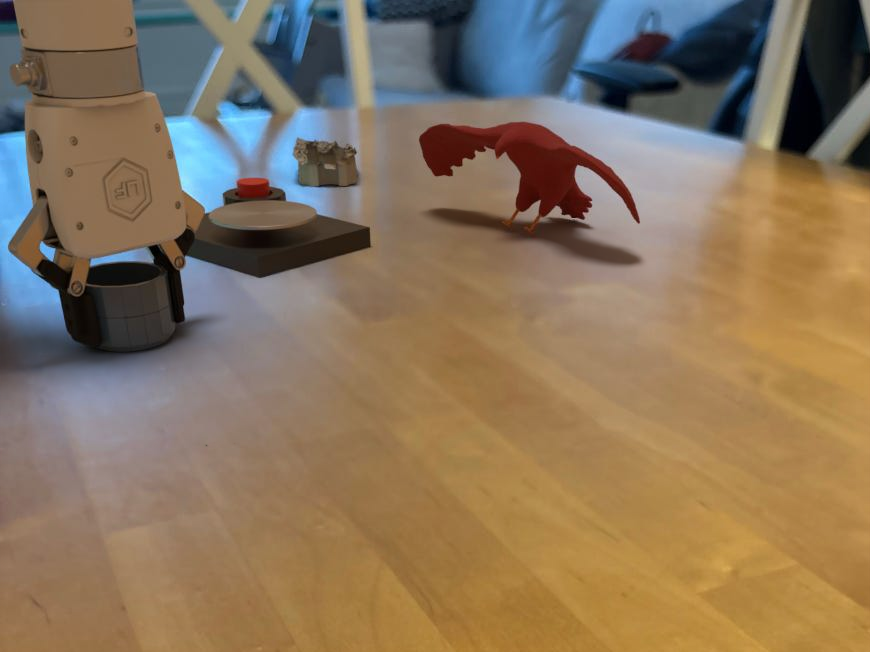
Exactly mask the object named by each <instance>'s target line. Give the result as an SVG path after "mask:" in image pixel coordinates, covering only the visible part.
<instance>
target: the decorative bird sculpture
mask: <svg viewBox="0 0 870 652" xmlns="http://www.w3.org/2000/svg"><path fill="white" fill-rule="evenodd" d="M418 141H419V147H420V150H421V153H422V158H423V159H424V161H425V164H426V166H427V167H428V169H429V170H430V171H431V173H432V175H433V176H434V177H437V178H438V177H444V176H445V177H454V170H453V169H452V167H455V168H456V167H457V168H461V167H463V165H464V164H463V163H464V162H463V161H464V159H468V160H470V161H473V160H474V159H475V158H476V156H477V155H476V152H478V153H485V152H486V151H487V149H490V150H493V151H494V154H495V155H494V156H495V159H496V160H499V159H500V158H501V157H502V156H503V154H506V156H507V157H508V159H509V160H510V161H511V162H512V163H513V165H514V166H515V167H516V169H517V170H518V172H519V175H520V178H519V185H518V192H517V195H516V197H515V211H514V212H513V213H512V215H511V217H510V219H509V220H508V222H507V221H505V220H501V221H499V223H500V222H501V223H503V224H504V225H505V226H507V227H508V228H509V229H510V230H512V227H511V225H512V223H513V221H514V220H515V218H516V217H517V215H518V214H519V212H520V213H524V212H526V211H527V210H529V209H530V208H531V207H532V206H533V205H534V204H536V203H538V202H539V201H540V202H539V205H538V214H537V216H536V217H535V219H534V221H533V222H532V224H531V225H530V227H528V226H522V228H524V229H525V230H526V231H528V232H529V233H531V234H530V235H531V237H533V236H534V234H533V230H534V229H535V227H536V225H537V224H538V222H539V220H540V219H541V218H545V217H547V216H549V214H550V213H551V212H552V211H553V210H554V209H555V208H556V207H558V208H559V209H560V211H561V213H560V214H561V215H562V216H569V217H570V218H571V219H572V218H577V219H579V220H582V221H584V220H586V216H585V215H584V214H587V213H589V212H590V210H589V209H592V208H593V203H592V202H593V198H592V197H591V196H589V195H588V194H585V193H584V192H583V191H582V189H581V188H580V187H579V185H578V182H577V181H576V169H577V167H578V166H580V167H583V168H586V169H589V170H590V171H592V172H593V173H594V174H596V175H597V176H598V177H600V178H601V179H602V180H603V181H604V182H605V183H606V184H607V185H608V186H609V187H610V188H611V189H612V191H614V192H615V193H616V194H617V195H618V197H620V198H621V200H622V201H623V203H624V204H625V207H626V208H627V210H628V211H629V212H630V215H631V217H632V219H633V220H634V221H635V222H636V223H637V224H638V225H640V224H641V221H640V216H639V212H638V209H637V206H636V202H635V201H634V197H633V195H632V192H631V191H630V189H629V188H628V187H627V186H626V183H625V182H624V181H623V179H621V178H620V176H618V174H616V172H615V170H613V169H612V167H611V166H608V165H607V164H606V163H605V162H603V161H602V160H601V159H599V158H597V157H595V156H593V155H592V154H590V153H588V152H587V151H585V150H584V149H582V148H580V147H578V146H575V145H571V144H570V143H568V142H567V141H566V140H565V139H563V138H562V137H561V136H560V135H558V134H556V133H554V131H552V130H550V129H549V128H548V127H546V126H544V125H542V124H539V123H534V122H528V121H509V122H507V123H502V124H498V125H496V126H491V127H485V128H483V127H474V126H470V125H464V124H463V125H452V124H450V123H439V124H435V125H432V126H430V127H428V128H427V129H426V130H425V131H423V133H422V134H420V135H419V138H418Z"/></svg>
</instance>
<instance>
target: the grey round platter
mask: <svg viewBox="0 0 870 652" xmlns="http://www.w3.org/2000/svg"><path fill="white" fill-rule="evenodd" d="M317 211H318V210H317V209H316V208H315V207H313V206H311V205H309V204H306V203H301V202H296V201H289V200H286V201H275V200H264V201H248V202H240V203H234V204H229V205H225V206H224V205H221V206H218V207H216V208H214V209H212V210H211V211H210V213H209V212H208V213H209V220H210V221H211V222H212V223H214V224H216V225H219V226H222V227H226V228H232V229H241V230H272V229H282V228H289V227H295V226H299V225H303V224H306V223H308V222H310V221H312V220H314V219H315V218H316V216H317V214H318V213H317Z"/></svg>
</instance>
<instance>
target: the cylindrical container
mask: <svg viewBox="0 0 870 652" xmlns="http://www.w3.org/2000/svg"><path fill="white" fill-rule="evenodd" d="M85 292H87V293H89V294H92V296H93V297H94V302H95V307H96V313H97V318H98V323H99V329H100V334H101V340H102V344H101V345H100V347H97V348H96V349H100V350H103V351H107V352H116V353H117V352H119V353H120V352H121V353H123V352H125V353H127V352H138V351H144V350H149V349H152V348H156V347H159V346H161V345H163V344H165V343H166V342H168V340H169V339H170V337H171V336H173V334H174V332H175V330H176V323H175V322H174V315H173V309H172V302H171V294H170V287H169V281H168V274H167V270H166V269H165V268H164V267H163V266H160V265H157V264H154V262H149V261H140V260H119V261H108V262H102V263H98V264H94V265H93V264H92V265H90V267H89V272H88V276H87V281H86V285H85Z"/></svg>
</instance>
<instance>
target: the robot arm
mask: <svg viewBox="0 0 870 652" xmlns="http://www.w3.org/2000/svg"><path fill="white" fill-rule="evenodd" d="M12 2H13V7H14V12H15V18H16V23H17V27H18V32H19V39H20V43H21V46H22V48H21V49H20V53H21V58H22V60H20V62H19V63H18V62H16V63H12V64H10V66H9V75H10V79H11V80H12V83H13V84H14V85H15V86H17V87H27V88H28V89H27V90H28V92H29V93H31V99H29V100H26V101H25V103H24V104H25V105H24V141H25V157H26V166H27V175H28V176H27V177H28V182H29V183H28V184H29V188H30V196H31V200H32V208H31V209H30V211H29V212H28V214H27V215H26V217H25V218H24V219H23V221H22V222H21V224H20V226H18V228H17V230H16V232H15V233H14V235H13V236H12V237H11V239H10V240H9V242H8V244H7V249H8V251H9V253H10V254H11V255H13V257H15V258H16V259H17V260H18V261H20V262H21V264H23V265H25V266H26V267H27V268H29V269H30V271H31V272H32V273H33V274H35V275H36V276H38V277H39V278H40V279H42V280H43V281H45V282H46V283H47V284H48V285H50V287H51V288H53V289H55V290H57V291H58V296H59V301H60V305H61V310H62V315H63V320H64V325H65V329H66V331H67V333H68V334H69V335H70V337H71V339H72V340H73V341H74V342H76V343H78V344H80V345H83V346H86V347H88V348H91V349H98V348H97V347H100V345H101V344H102V340H101V334H100V329H99V323H98V318H97V313H96V307H95V302H94V297H93V296H92V294H89V293H87V292H85V285H86V281H87V276H88V272H89V267H90V266H91V263H92V260H93V259H94V260H95V259H100V258H104V257H105V258H106V257H110V256H114V255H118V254H122V253H127V252H131V251H135V250H139V249H144V248H145V250H146V251H147V253H148V255H149V256H150V257H151V259H152V261H153V262H152V263H154V264H157V265H160V266H163V267H164V268H165V269H166V270H167V274H168V281H169V287H170V294H171V302H172V309H173V315H174V322H175V324H181V323H184V322H185V321H186V316H185V315H186V314H185V308H184V306H185V297H184V296H185V295H184V289H183V282H182V275H181V271H182V270H184V269H185V267H186V265H187V259H186V257H187V255H186V254H187V253H188V251H189V249H190V247H191V245H192V244H193V242H194V239H195V234H194V233H195V232H197V229H198V227H199V225H200V223H201V221H202V219H203V217H204V214H205V213H206V209H205V207H204V206H203V204H202V203H200V202H199V201H197V200H196V198H194V197H192V196H191V195H190V194H188V193H187V192H186V191H185V190H183V188H182V182H181V177H180V172H179V168H178V164H177V159H176V154H175V150H174V145H173V141H172V139H171V135H170V131H169V127H168V125H167V122H166V118H165V116H164V112H163V110H162V106H161V104H160V101H159V99H158V97H157V94H156V93H154V92H151V91H146V88H145V81H144V80H145V79H144V73H143V68H142V60H141V53H140V46H139V44H138V43H139V40H138V32H137V25H136V18H135V12H134V5H133V0H12ZM41 243H43V244H44V245H45V246H46V247H48V248H50V249H55V250H54V254H53V259H52V260H51V259H49V257H47V256H46V255H45V254H44V253H43V252H42V251H41V248H40V247H41Z"/></svg>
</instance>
